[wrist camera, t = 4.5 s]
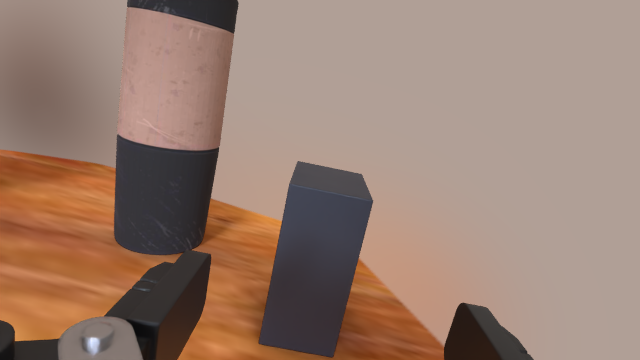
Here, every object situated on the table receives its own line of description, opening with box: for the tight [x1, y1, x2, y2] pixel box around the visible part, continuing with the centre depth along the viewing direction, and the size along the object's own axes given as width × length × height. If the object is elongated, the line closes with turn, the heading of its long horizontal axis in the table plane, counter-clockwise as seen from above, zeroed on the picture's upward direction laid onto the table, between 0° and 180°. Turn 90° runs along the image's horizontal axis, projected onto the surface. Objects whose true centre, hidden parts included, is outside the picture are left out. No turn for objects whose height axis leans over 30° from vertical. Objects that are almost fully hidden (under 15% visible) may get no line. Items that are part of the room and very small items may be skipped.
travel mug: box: [114, 0, 238, 255], centre depth 29 cm, size 8×8×20 cm
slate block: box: [259, 161, 373, 357], centre depth 23 cm, size 4×6×10 cm
